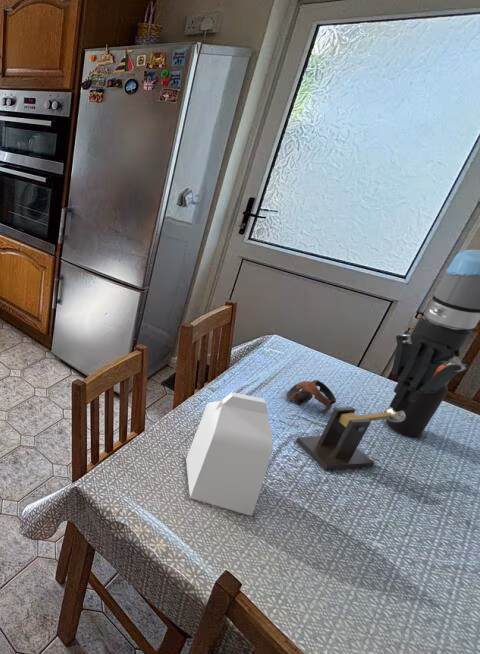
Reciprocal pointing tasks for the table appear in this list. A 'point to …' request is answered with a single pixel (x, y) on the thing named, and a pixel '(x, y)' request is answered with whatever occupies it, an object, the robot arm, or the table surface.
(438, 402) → the bottle
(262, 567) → the table surface
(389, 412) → the tap lever
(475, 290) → the robot arm
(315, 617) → the table surface
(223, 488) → the milk
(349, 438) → the dark grey lever stand
